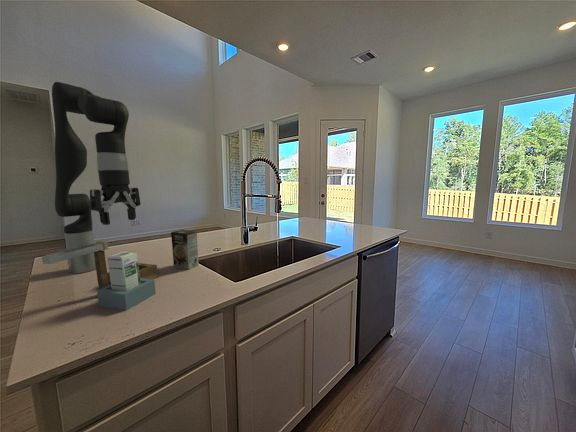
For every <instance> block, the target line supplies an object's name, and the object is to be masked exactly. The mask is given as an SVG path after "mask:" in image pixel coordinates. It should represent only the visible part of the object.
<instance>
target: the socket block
mask: <svg viewBox="0 0 576 432" xmlns="http://www.w3.org/2000/svg"><path fill="white" fill-rule="evenodd" d="M94 258H95V265H96V269H95V272H96V278H97V286H98V290H99V289H102V288H104V287H106V286H108V285H111V281H110V274H109V271H108V270H107V259H106V255H105V250H99V251H96V252H94ZM138 267H139V275H140V278H144V279H152V280H155V279H156V278H158V277H159V275H158V274H159V273H158V265H157V264H151V263H141V262H138Z"/></svg>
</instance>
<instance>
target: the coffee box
mask: <svg viewBox="0 0 576 432" xmlns="http://www.w3.org/2000/svg"><path fill="white" fill-rule="evenodd" d="M170 235H171V237H170V238H171V246H172V247H171V248H172V259H173V260H172V261H173V262H172V263H173V267H174V268H178V269H183V270H191V269H195V268H196V267H198V266H199V251H198V250H199V249H198V247H199V246H198V232H197V231H196V230H189V229H188V230H187V229H180V230H174V231H171V232H170Z"/></svg>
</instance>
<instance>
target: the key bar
mask: <svg viewBox="0 0 576 432" xmlns="http://www.w3.org/2000/svg"><path fill="white" fill-rule="evenodd" d="M99 250H104V251H106V250H109V242H108V241H107V240H106V241H103V240H97V241H95V242H94V244H90V245H86V246H82V247H78V248H74V249H70V250H67V249H65V250H62V251H59V252H58V251H57V252H54V253H50V254H47V255H42V256H41V261H42V264H45V265H53V264H57V263H60V262H63V261H68V259H71V258H75V257H78V256H82V255H85V254H89V253H92V252H96V251H99Z"/></svg>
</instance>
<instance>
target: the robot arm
mask: <svg viewBox="0 0 576 432" xmlns="http://www.w3.org/2000/svg"><path fill="white" fill-rule="evenodd" d="M51 99H52V100H51V101H52V109H53V119H54V120H53V121H54V161H55V177H56V178H55V182H56V183H55V191H54V192H55V194H54V210H55V213H56V214H57V215H58V217H62V218H63V217H64V218H65V217H66V218H69V217H77V216H78V219H76V220H75V221H73V222H71V223H69V224H66V225H65V226H63V232H64V239H65V244H66V250H70V249H74V248H78V247H82V246H86V245H90V244H94V243H95V237H94V230H93V217H92V211H94V212H98V213H99V221H100V223H101V224H102V225H103V226H109V225H111V219H110V213H109V209H110V208H111V207H112V206H113V205H114V204H118V203H122V204H124V205H125V206H126V209H127V210H126V211H127V219H128V220H129V221H134V220H136V218H137V213H136V208H137V207H138V206H141V205H142V204H141V203H142V202H141V198H140V192H139V188H138V187H129V185H130V184H131V181H130V173H129V172H130V171H129V164H128V158H127V154H126V153H127V152H126V144H125V141H126V140H125V139H126V132H127V126H128V122H129V115H130V114H129V110H128V108H127V106H126V105H125V103H124V102H121V101H120V100H114V99H109V98H106V97H105V98H104V97H101V96H99V95H96V94H94V93H93V92H92V91H90V90H88V89H86V88H84V87H81V86H76V85H72V84H69V83H65V82H61V81H54V82H53V84H52V87H51ZM67 112H68V113H73V114H77V115H82V116H83V115H85V118H86V119H87V120H88V121H90V122H92V123H96V124H103V125H110V126H113V129H112V130H110V131H100V132H97V133H96V134H95V135H94V136H95V137H94V140H95V147H96V148H95V149H96V163H97V164H96V165H97V172H98V181H99V185H100V186H101V189H95V188H94V189H93V188H91V189H89V196H88V194H86V193H69V192H70V190H71V187H72V185H73V184H74V182H75V181H76V180H77V179H78V178H79V177H80V176H81V175H82V173H84V172H85V170H86V168H87V164H88V150H87V147H86V145H85V144H84V143H83V141H82V139H81V138H80V137H79V136H78V135H77V133H76V132H75V130H74V129H73V127H72V126H71V123H70V121H69V119H68V116H67ZM102 196H103V197H102ZM101 197H102V198H101ZM67 266H68V271H69V273H70V274H84V273H88V272H91V271H94V270H95V271H96V265H95V258H94V252H92V253H89V254H85V255H82V256H78V257H75V258H71V259H67Z"/></svg>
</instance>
